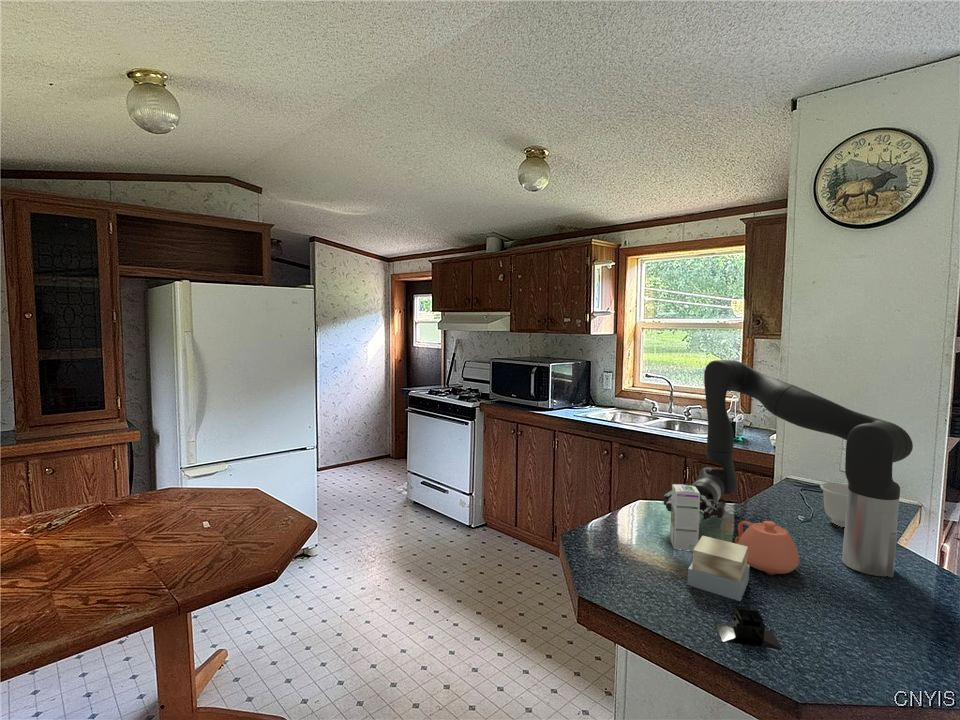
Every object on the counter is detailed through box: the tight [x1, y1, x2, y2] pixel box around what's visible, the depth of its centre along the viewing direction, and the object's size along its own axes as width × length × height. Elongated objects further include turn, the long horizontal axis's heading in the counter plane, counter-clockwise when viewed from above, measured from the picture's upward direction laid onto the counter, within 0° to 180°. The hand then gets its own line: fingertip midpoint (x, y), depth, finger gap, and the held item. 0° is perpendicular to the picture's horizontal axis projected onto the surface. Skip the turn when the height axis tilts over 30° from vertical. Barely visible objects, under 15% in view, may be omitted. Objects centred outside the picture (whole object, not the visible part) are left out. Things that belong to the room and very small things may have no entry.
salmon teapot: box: [734, 520, 800, 576], centre depth 116 cm, size 12×14×10 cm
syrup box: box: [669, 483, 700, 552], centre depth 124 cm, size 6×6×14 cm
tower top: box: [691, 535, 748, 582], centre depth 107 cm, size 9×9×4 cm
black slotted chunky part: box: [715, 608, 784, 651], centre depth 89 cm, size 12×7×5 cm, turn 79°
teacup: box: [819, 482, 848, 528], centre depth 142 cm, size 12×15×10 cm
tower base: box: [687, 561, 751, 602], centre depth 107 cm, size 10×10×4 cm
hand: (686, 511), depth 126 cm, fingers open, 8 cm apart
